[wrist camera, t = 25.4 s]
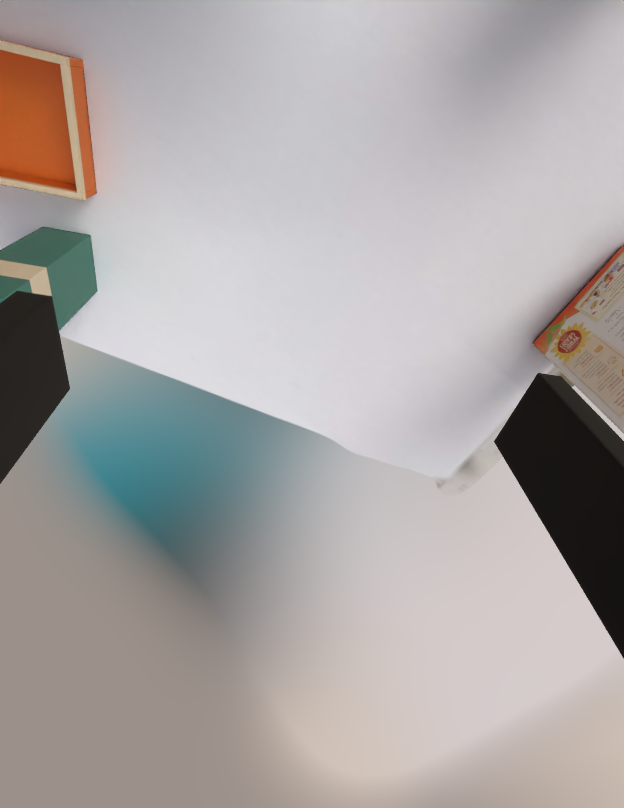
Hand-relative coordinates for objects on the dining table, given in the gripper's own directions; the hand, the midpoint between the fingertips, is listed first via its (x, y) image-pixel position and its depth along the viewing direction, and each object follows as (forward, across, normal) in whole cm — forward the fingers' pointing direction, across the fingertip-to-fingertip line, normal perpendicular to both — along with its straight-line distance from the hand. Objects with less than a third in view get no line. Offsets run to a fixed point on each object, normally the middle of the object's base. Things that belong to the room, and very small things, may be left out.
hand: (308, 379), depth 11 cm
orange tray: (+35, -26, 0) cm, 44 cm away
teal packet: (+35, -22, -12) cm, 43 cm away
